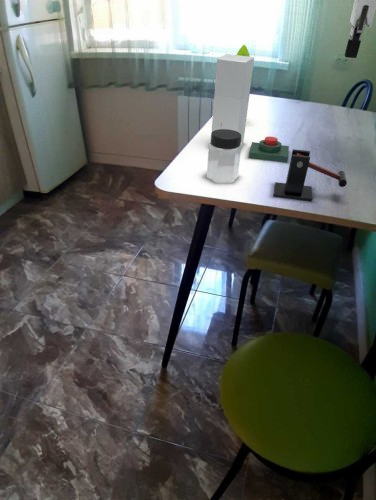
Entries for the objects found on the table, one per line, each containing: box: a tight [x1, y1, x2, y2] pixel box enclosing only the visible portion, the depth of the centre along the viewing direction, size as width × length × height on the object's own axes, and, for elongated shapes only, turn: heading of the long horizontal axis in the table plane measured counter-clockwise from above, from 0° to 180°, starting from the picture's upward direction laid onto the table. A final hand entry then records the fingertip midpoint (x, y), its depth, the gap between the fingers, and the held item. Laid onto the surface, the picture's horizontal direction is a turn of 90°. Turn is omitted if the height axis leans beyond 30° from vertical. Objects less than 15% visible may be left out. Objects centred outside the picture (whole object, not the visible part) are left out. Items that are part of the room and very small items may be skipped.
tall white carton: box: [210, 53, 255, 146], centre depth 128 cm, size 9×9×25 cm
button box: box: [248, 139, 290, 164], centre depth 130 cm, size 12×10×4 cm
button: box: [264, 136, 279, 146], centre depth 129 cm, size 4×4×2 cm
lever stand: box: [272, 148, 313, 202], centre depth 108 cm, size 10×8×11 cm
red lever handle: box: [296, 153, 348, 188], centre depth 106 cm, size 14×6×2 cm, turn 79°
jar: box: [206, 129, 243, 184], centre depth 113 cm, size 9×8×12 cm
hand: (350, 57), depth 115 cm, fingers closed
